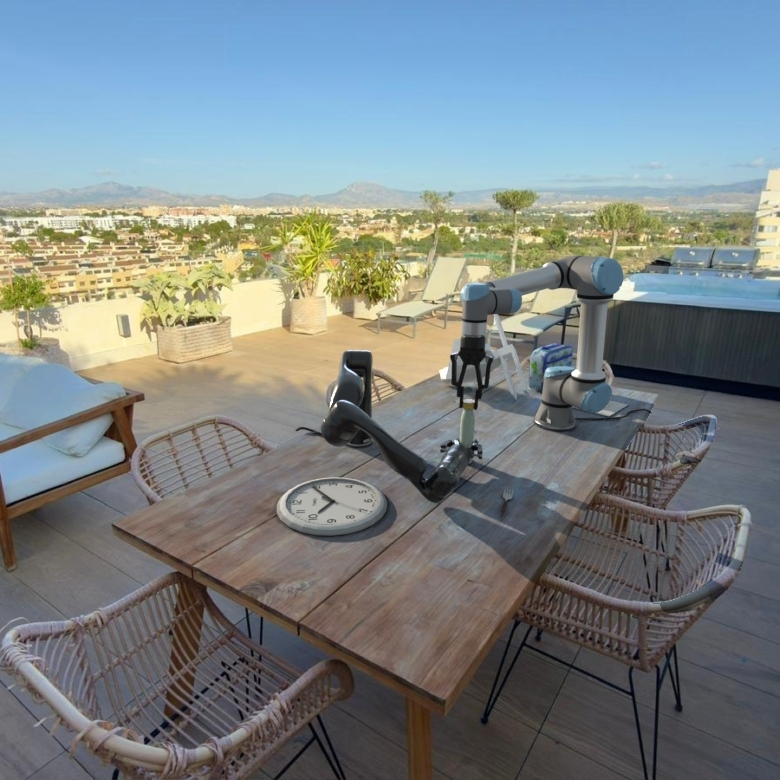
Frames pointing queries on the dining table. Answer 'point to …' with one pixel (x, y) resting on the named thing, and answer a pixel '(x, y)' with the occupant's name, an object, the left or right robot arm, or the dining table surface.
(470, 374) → the white plastic object
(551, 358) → the lunch box
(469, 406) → the cap
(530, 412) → the dining table surface
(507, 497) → the fork
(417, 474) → the left robot arm
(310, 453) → the dining table surface
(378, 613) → the dining table surface
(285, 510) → the wall clock
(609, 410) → the invitation card
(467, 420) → the bottle
